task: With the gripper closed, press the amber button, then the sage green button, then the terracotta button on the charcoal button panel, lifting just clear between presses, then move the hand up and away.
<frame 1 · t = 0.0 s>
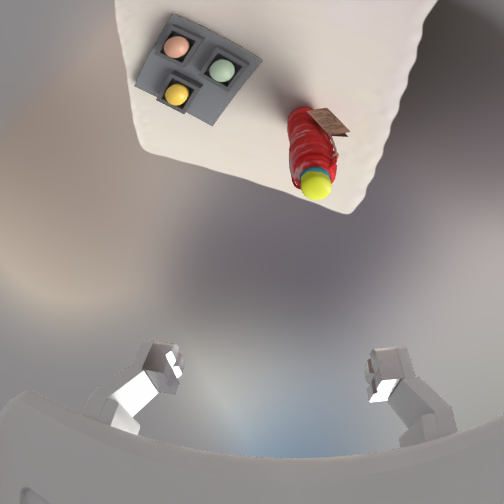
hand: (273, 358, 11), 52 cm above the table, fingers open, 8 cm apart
sage button: (222, 70, 41), point 4 cm above the table, slide at 0.0 cm
amber button: (177, 94, 45), point 4 cm above the table, slide at 0.0 cm
button panel: (195, 68, 45), on the table
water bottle: (309, 114, 51), on the table
terracotta button: (177, 46, 37), point 4 cm above the table, slide at 0.0 cm
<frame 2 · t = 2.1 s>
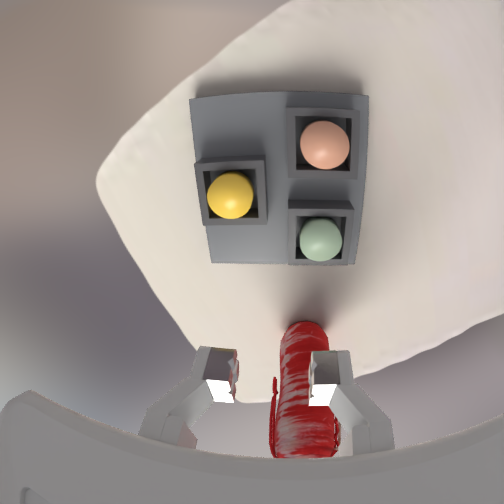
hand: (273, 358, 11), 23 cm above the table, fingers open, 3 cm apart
sage button: (320, 238, 28), point 4 cm above the table, slide at 0.0 cm
amber button: (231, 194, 27), point 4 cm above the table, slide at 0.0 cm
button panel: (282, 179, 30), on the table
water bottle: (312, 331, 43), on the table
terracotta button: (323, 143, 23), point 5 cm above the table, slide at 0.0 cm
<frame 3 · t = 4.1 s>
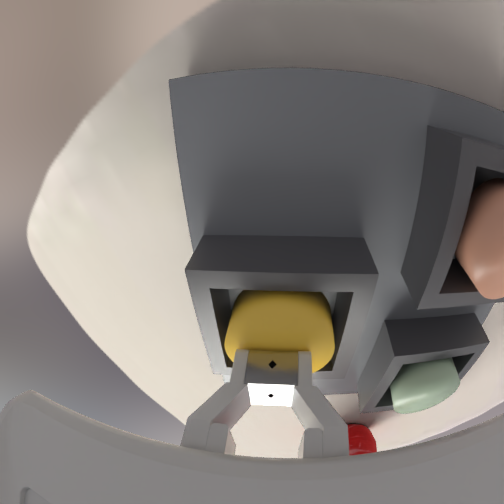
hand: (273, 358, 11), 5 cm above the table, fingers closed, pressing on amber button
sage button: (424, 383, 12), point 4 cm above the table, slide at 0.0 cm
amber button: (280, 333, 11), point 4 cm above the table, slide at 0.3 cm, touching gripper
button panel: (373, 274, 14), on the table
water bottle: (355, 428, 27), on the table
terracotta button: (503, 239, 7), point 5 cm above the table, slide at 0.0 cm
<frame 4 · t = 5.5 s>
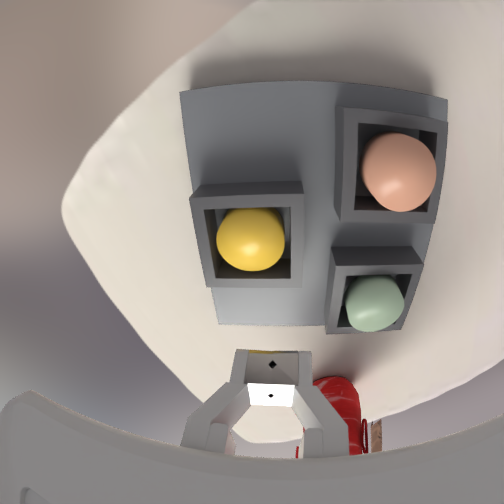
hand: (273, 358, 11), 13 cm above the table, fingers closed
sage button: (373, 302, 19), point 5 cm above the table, slide at 0.0 cm
amber button: (251, 235, 18), point 3 cm above the table, slide at 1.3 cm
button panel: (320, 215, 21), on the table
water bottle: (339, 384, 33), on the table
terracotta button: (397, 170, 14), point 4 cm above the table, slide at 0.0 cm
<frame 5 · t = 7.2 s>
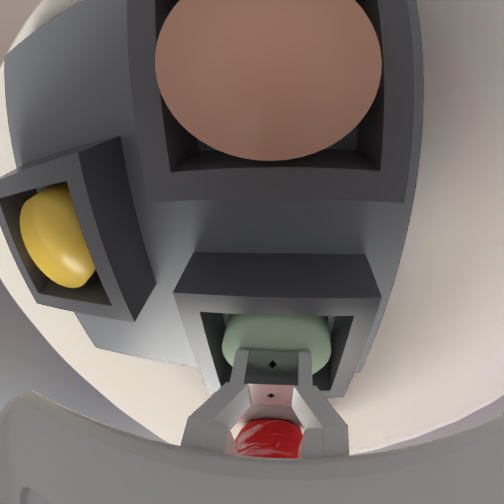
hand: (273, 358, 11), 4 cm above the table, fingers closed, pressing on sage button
sage button: (277, 336, 11), point 3 cm above the table, slide at 1.3 cm, touching gripper
amber button: (64, 233, 10), point 3 cm above the table, slide at 1.3 cm
button panel: (188, 196, 12), on the table
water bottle: (285, 426, 25), on the table
terracotta button: (268, 59, 5), point 4 cm above the table, slide at 0.0 cm
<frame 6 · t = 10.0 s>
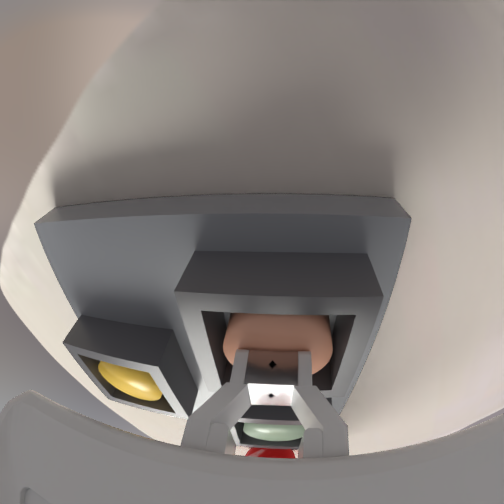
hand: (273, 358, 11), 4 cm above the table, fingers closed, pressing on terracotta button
sage button: (275, 420, 17), point 3 cm above the table, slide at 1.3 cm
amber button: (134, 370, 15), point 3 cm above the table, slide at 1.3 cm
button panel: (218, 343, 17), on the table
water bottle: (282, 448, 30), on the table
terracotta button: (278, 335, 11), point 3 cm above the table, slide at 1.3 cm, touching gripper
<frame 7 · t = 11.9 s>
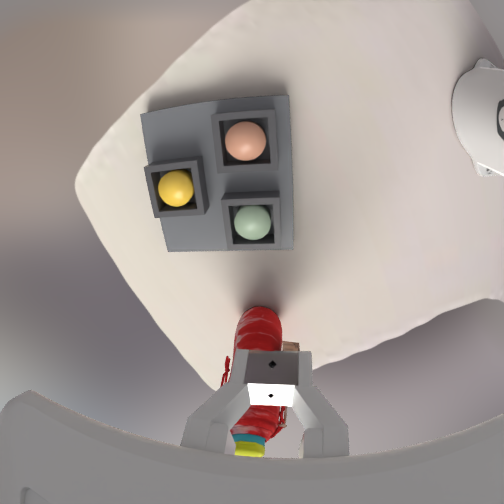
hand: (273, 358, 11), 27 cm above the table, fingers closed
sage button: (253, 220, 34), point 3 cm above the table, slide at 1.3 cm
amber button: (177, 187, 32), point 3 cm above the table, slide at 1.3 cm
button panel: (221, 176, 34), on the table
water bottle: (269, 317, 47), on the table
terracotta button: (246, 140, 29), point 3 cm above the table, slide at 1.4 cm
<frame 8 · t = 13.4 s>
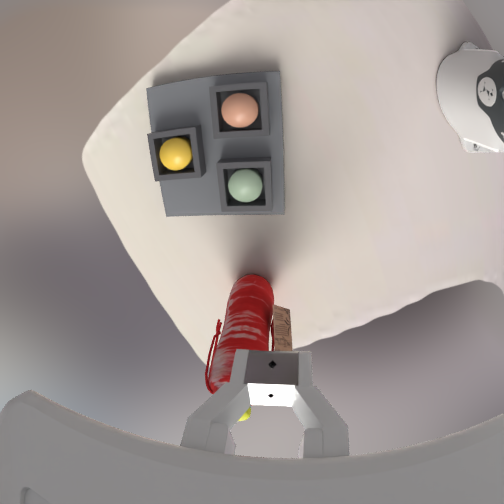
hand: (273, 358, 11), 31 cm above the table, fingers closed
sage button: (246, 184, 36), point 3 cm above the table, slide at 1.3 cm
amber button: (177, 153, 34), point 3 cm above the table, slide at 1.3 cm
button panel: (218, 145, 36), on the table
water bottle: (261, 286, 49), on the table
terracotta button: (240, 109, 30), point 3 cm above the table, slide at 1.4 cm
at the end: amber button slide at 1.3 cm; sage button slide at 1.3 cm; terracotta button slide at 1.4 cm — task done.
